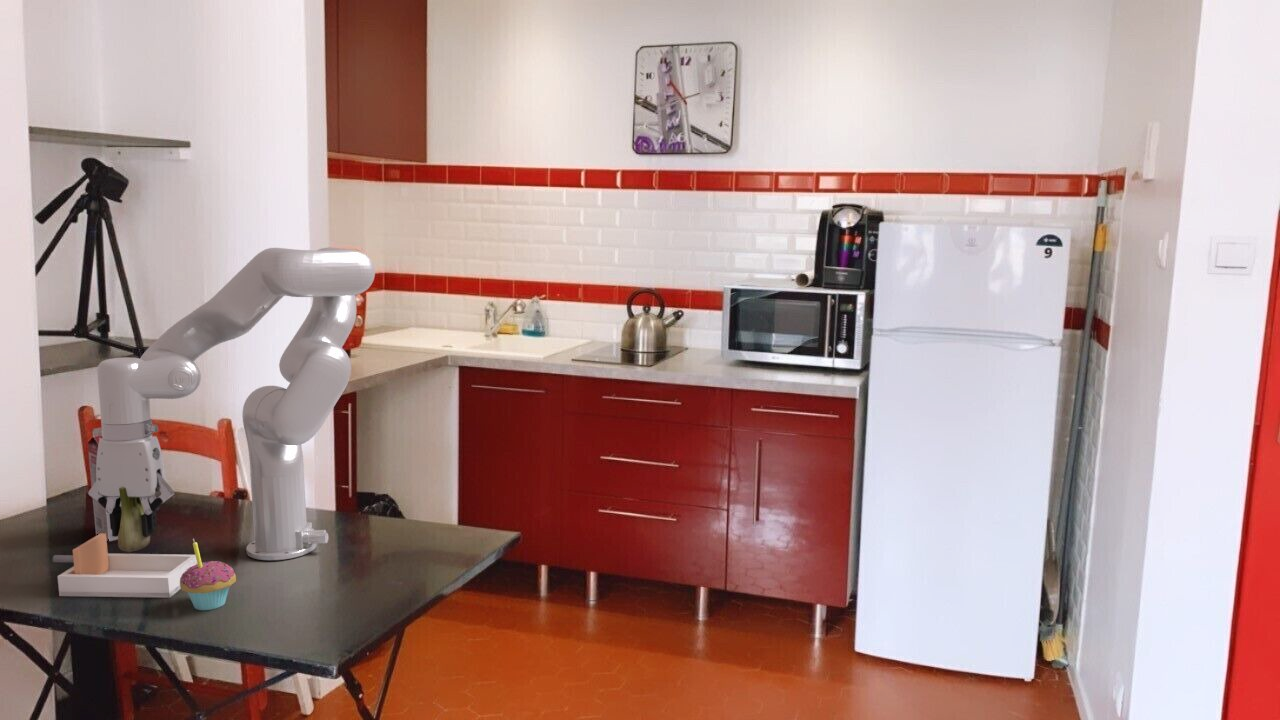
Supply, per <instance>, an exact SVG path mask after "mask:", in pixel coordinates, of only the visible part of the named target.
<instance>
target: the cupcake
mask: <svg viewBox="0 0 1280 720" xmlns="http://www.w3.org/2000/svg"><path fill="white" fill-rule="evenodd" d="M192 541H193V543H192V546H193V551H194V555H195V556H196V560H197V565H194V566H192V567H190V568H188V569H186V570H187V571H185V572H184V573H183V574H182V576H181V577H180V587H181V589H180V590H182V592H186V593H187V595H188V597H189V598H190V601H191V603H192V605H193V608H194V609H195V610H197V611H198V610H199V611H210V610H215V609H218V608H219V609H220V607H223V606H224V605H225V604H226V602H227V601H226V600H227V597H228V593H229V591H230V587H231V586H232V585H233V584H235V583H236V581H237V575H236V573H235V569H234V568H233V567H232V566H231V565H229V564H227V563H225V562H223V561H219V560H211V561H210V560H208V561H205V562H202V558H201V554H200V550H199V545H198V542H196V541H195V538H192Z"/></svg>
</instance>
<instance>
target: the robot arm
mask: <svg viewBox="0 0 1280 720" xmlns="http://www.w3.org/2000/svg"><path fill="white" fill-rule="evenodd" d="M375 276H376V270H375V265H374V263H373V261H372V259H371V257H369V256H368V255H367V254H366V253H365V252H363V251H361V250H357V249H351V248H341V247H323V248H322V247H321V248H319V249H316V250H315V249H314V250H312V249H311V250H310V249H307V250H306V249H292V248H285V247H284V248H283V247H269V248H266V249H264V250H261V251H259V253H257V254H256V255H255V256H254V257H253V258H252V259H251V260H249V262H247V263H246V265H244V267H243V268H242V269H240V270H239V271H238V272H237V273H236V274H235V275H234V276H233V277H232V278H231V279H230V280H229V281H228V282H227V283H226V284H225V285H224V286H223V287H222V288H221V289H220V290H219V291H218V292H217V293H215V295H213V296H212V298H210V299H209V300H208V301H206V302H204V303H203V304H201V305H200V306H199V307H197V308H195V310H193V311H191V312H190V313H189V314H187V315H186V316H184V317H183V318H181V319H180V320H177V322H175V323H174V324H173V325H172V326H170V327H169V328H168V329H167V330H165V331H164V333H163V334H161V335H160V336H159V338H158V339H156V340H155V341H154V342H153V343H152V344H151V345H150V346H148V348H147V349H146V350H145V351H144V353H142V355H141V357H140V358H139V357H116V358H115V357H113V358H109V359H108V358H107V359H105V360H103V361H101V362H100V363H99V364H98V366H97V370H96V371H97V373H96V374H97V385H98V398H99V410H100V422H101V423H100V424H101V428H102V439H100V440H99V445H98V451H97V462H96V482H95V483H94V485H93V486H92V485H91V488H89V491H88V493H87V494H88V496H90V497H91V498H92V499H93V498H94V499H95V500H97V501H98V502H99V503H100V504H101V505H102V506H103V507H104V508H105V509H106V513H108V514H109V515H110V528H111V530H112V536H118V533H119V529H120V522H121V515H122V510H121V499H120V492H119V488H126V492H127V496H128V497H130V498H140V500H141V503H142V506H143V510H144V514H143V515H142V516H141V518H142V532H143V536H144V537H148V536H150V537H151V535H153V534H155V533H156V530H157V529H158V520H157V510H160V507H161V506H162V505H163V504H164V503H165V502H166V501H168V500H169V499H170V498H171V497H173V496H174V495H175V491H174V489H172V487H171V486H170V485H169V483H168V482H167V477H166V470H165V463H164V456H163V451H162V449H161V444H160V441H159V439H158V437H157V436H156V435H153V434H154V433H158V432H159V425H158V424H154V423H153V420H152V418H151V406H150V405H151V404H150V403H151V402H150V401H151V400H150V399H153V400H156V399H159V400H160V399H163V400H164V399H165V400H167V399H168V400H173V399H175V400H176V399H182V398H185V397H188V396H190V395H191V394H193V393H194V392H195V391H197V389H198V387H200V384H201V381H202V374H201V371H200V369H199V367H198V365H197V364H196V363H195V361H197V359H198V358H200V357H201V356H202V355H203V354H205V353H206V352H208V351H209V350H210V349H213V348H214V347H215V346H217V345H220V344H223V343H225V342H228V341H232V340H235V339H238V338H240V337H242V336H244V335H246V334H247V333H249V332H250V331H251V330H252V329H253V328H254V327H255V326H256V325H257V324H258V323H259V322H260V321H261V320H262V319H263V317H264V316H266V315H267V314H268V313H269V311H271V310H272V308H273V307H274V306H276V305H277V304H278V302H279V301H280V300H281V299H283V297H292V298H312V303H311V307H310V310H309V312H308V314H307V315H306V318H305V319H304V321H303V322H302V324H300V327H299V329H298V330H297V331H296V333H295V335H293V337H292V339H291V341H290V342H289V343H288V345H287V346H286V348H285V350H284V351H283V353H282V355H281V356H280V359H279V364H278V367H279V372H280V374H281V376H282V378H284V380H285V381H286V382H288V383H289V384H288V386H287V387H286V388H285V387H282V386H280V385H279V386H277V385H263V386H260V387H258V388H256V389H255V390H253V391H252V392H250V394H249V395H248V396H247V398H245V399H246V400H244V403H243V406H242V417H241V418H242V424H243V429H244V434H245V438H246V439H245V440H246V443H247V449H248V458H249V474H250V475H249V476H250V488H251V490H250V492H251V503H252V505H251V506H252V507H251V508H252V519H253V520H252V521H253V533H254V534H253V535H254V539H253V541H251V542H249V544H247V546H246V549H245V550H246V555H247V556H248V557H250V558H251V559H255V560H260V561H283V560H290V559H294V558H299V557H301V556H302V557H303V556H305V555H307V554H309V553H311V552H312V551H314V550H315V549H316V548H317V544H328V542H329V533H328V532H327V530H326V529H314V528H313V522H311V521H310V522H309V521H307V520H308V519H307V505H306V504H307V503H306V502H307V501H306V489H305V464H304V463H305V462H304V454H303V453H304V452H303V447H302V445H303V444H305V443H307V442H309V441H310V440H312V438H314V436H315V435H316V434H317V433H318V432H319V431H320V429H321V428H322V427H323V425H324V424H325V422H326V421H327V419H328V417H329V416H330V414H331V412H332V410H333V409H334V407H335V406H336V404H337V403H338V401H339V399H340V398H341V396H342V395H343V393H344V391H345V390H346V388H347V386H348V384H349V381H350V377H351V372H352V363H351V359H350V357H349V355H348V353H347V352H346V350H345V349H343V348H344V347H343V346H344V345H345V343H346V341H347V340H348V338H349V337H350V336H349V335H350V334H351V332H352V330H353V328H354V325H355V322H356V318H357V299H356V295H357V296H358V295H360V294H362V293H364V292H366V291H367V290H368V289H370V287H371V286H372V284H373V282H374V280H375ZM156 492H160V495H158V497H157V496H156Z"/></svg>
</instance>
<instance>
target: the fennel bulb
mask: <svg viewBox="0 0 1280 720" xmlns="http://www.w3.org/2000/svg"><path fill="white" fill-rule="evenodd" d="M119 492H120V499H121V510H122V515H121V522H120V529H119V533H118V539H117V547H118V548H119V550H121V551H123V552H127V553H131V552H132V553H133V552H135V551H139V550H143V549H144V548H146V547H148V546H149V544H150V542H151V535H150V536H148V537H144V536H143V532H142V518H141V516H142V515H143V514H144V509H143V506H142V503H141V500H140V498H130V497H128V496H127V492H126V488H119Z"/></svg>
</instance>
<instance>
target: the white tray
mask: <svg viewBox="0 0 1280 720" xmlns="http://www.w3.org/2000/svg"><path fill="white" fill-rule="evenodd" d="M108 562H109V569H108V570H107V571H105V572H104V573H102V574H101V575H90V574H75V570H74V565H73V566H72V567H70V568H69V569H67V570H65V571H63V572H62V573H60V574H59V575H57V584H58V594H59V597H94V598H95V597H98V598H99V597H102V598H103V597H105V598H106V597H107V598H108V597H109V598H111V597H112V598H161V599H162V598H169V599H170V598H171V597H172V596H174V595H175V594H176V593H177V592H179V591H180V590H182V589H181V587H180V577H181V576H182V574H183V573H184V572H185V571H187V570H186V569H188V568H190V567H192V566H194V565H197V560H196V556H195V554H175V553H173V554H171V553H170V554H167V553H165V554H164V553H163V554H161V553H160V554H159V553H152V554H151V553H108Z"/></svg>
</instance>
